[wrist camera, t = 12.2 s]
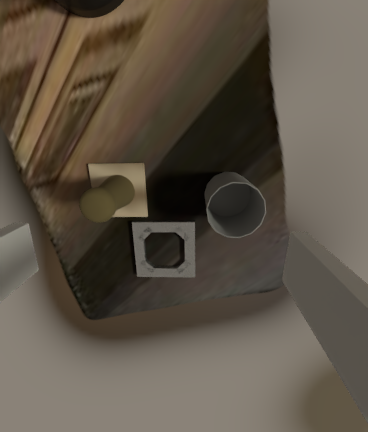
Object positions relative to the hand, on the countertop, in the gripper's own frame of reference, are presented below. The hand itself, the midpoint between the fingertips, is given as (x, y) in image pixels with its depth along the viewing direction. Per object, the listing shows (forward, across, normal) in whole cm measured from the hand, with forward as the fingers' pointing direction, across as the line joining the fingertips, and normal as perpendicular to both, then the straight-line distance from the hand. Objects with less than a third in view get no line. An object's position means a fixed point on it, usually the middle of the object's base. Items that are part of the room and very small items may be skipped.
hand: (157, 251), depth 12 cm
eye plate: (+31, -4, -16) cm, 35 cm away
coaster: (+31, -12, -4) cm, 34 cm away
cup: (+31, +8, -4) cm, 33 cm away
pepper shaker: (+31, -12, -4) cm, 33 cm away
